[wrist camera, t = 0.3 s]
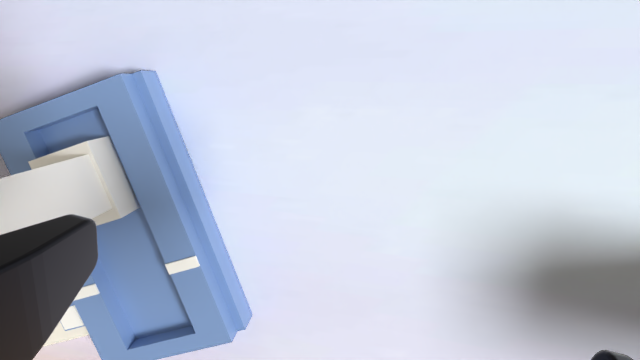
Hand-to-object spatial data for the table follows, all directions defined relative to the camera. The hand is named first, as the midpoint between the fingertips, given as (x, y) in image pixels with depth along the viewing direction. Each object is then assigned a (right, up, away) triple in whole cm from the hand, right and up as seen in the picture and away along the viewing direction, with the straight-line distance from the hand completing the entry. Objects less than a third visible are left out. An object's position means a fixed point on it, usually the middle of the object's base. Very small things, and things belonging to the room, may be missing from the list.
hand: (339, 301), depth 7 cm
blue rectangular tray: (-11, 0, +17) cm, 20 cm away
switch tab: (-12, +2, +15) cm, 19 cm away
